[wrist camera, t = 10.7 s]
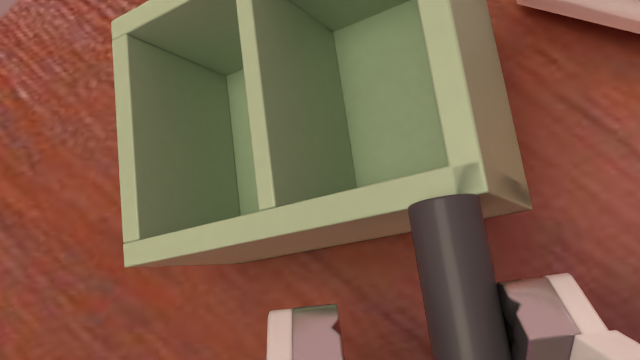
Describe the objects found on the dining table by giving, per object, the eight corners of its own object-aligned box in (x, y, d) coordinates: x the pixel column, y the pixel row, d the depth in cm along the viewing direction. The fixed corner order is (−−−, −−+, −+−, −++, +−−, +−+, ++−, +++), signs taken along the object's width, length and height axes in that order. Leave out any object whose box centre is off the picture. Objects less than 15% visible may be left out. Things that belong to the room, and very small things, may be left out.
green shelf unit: (104, 439, 15) (530, 451, 10) (85, 10, 18) (404, -178, 13) (252, 386, 21) (569, 374, 16) (220, 69, 24) (477, -40, 19)
